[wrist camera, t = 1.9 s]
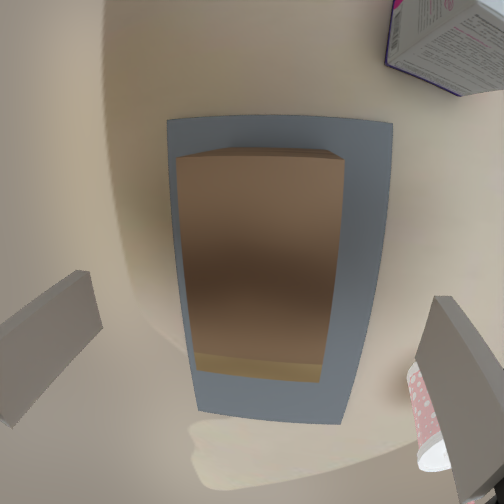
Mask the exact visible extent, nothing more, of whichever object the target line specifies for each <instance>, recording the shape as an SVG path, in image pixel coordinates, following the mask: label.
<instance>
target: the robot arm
mask: <svg viewBox="0 0 504 504" xmlns="http://www.w3.org/2000/svg"><path fill="white" fill-rule="evenodd" d="M102 329H103V326H102V322H101V319H100V315H99V311H98V307H97V303H96V299H95V295H94V290H93V286H92V281H91V277H90V272H89V271H81V270H76V271H74V272H73V273H71V274H70V275H68V276H67V277H65V278H64V279H62V280H61V281H59V282H58V283H57V284H55V285H54V286H52V287H51V288H49V289H48V290H47V291H45V292H44V293H42V294H41V295H40V296H38V297H37V298H36V299H34V300H33V301H32V302H30V303H29V304H27V305H26V306H25V307H23V308H22V309H21V310H19V311H18V312H17V313H15V314H14V315H13V316H11V317H10V318H9V319H7V320H6V321H5V322H3V323H2V324H1V325H0V421H1V422H2V423H4V424H5V425H7V426H8V427H10V428H11V429H13V427H14V426H15V425H16V423H18V421H19V420H20V419H21V418H22V416H23V415H24V414H25V413H26V412H27V411H28V410H29V409H30V407H31V406H32V405H33V404H34V403H35V401H36V400H37V399H38V398H39V397H40V396H41V395H42V394H43V392H44V391H45V390H46V389H47V388H48V387H49V386H50V385H51V383H52V382H53V381H54V380H55V379H56V378H57V377H58V376H59V375H60V374H61V372H62V371H63V370H64V369H65V368H66V367H67V366H68V365H69V363H71V361H72V360H73V359H74V358H75V357H76V356H77V355H78V354H79V353H80V352H81V351H82V350H83V349H84V348H85V347H86V345H87V344H88V343H89V342H90V341H91V340H92V339H93V338H94V337H95V336H96V335H97V334H98V333H99V332H100V331H101V330H102ZM415 359H416V362H417V364H418V367H419V369H420V372H421V375H422V377H423V380H424V383H425V385H426V388H427V391H428V394H429V396H430V399H431V402H432V405H433V408H434V411H435V414H436V417H437V420H438V423H439V426H440V430H441V433H442V436H443V439H444V443H445V446H446V450H447V453H448V457H449V461H450V464H451V468H452V472H453V476H454V480H455V484H456V488H457V493H458V498H459V502H460V504H464V503H468V502H471V501H474V500H477V499H480V498H482V497H484V496H485V495H486V494H487V493H488V492H489V491H490V490H491V489H492V488H494V489H495V493H496V495H495V496H493V497H492V498H491V499H490V500H489V501H488V502H486V503H485V504H504V369H503V368H502V367H501V365H500V363H499V362H498V360H497V359H496V357H495V356H494V354H493V353H492V351H491V350H490V348H489V347H488V345H487V344H486V342H485V341H484V339H483V338H482V337H481V335H480V334H479V332H478V331H477V329H476V328H475V327H474V325H473V324H472V323H471V321H470V320H469V318H468V317H467V316H466V314H465V313H464V312H463V310H462V309H461V308H460V306H459V305H458V304H457V303H456V301H455V300H454V299H453V297H452V296H434V298H433V302H432V305H431V309H430V312H429V316H428V319H427V322H426V326H425V329H424V332H423V335H422V338H421V341H420V344H419V347H418V350H417V353H416V356H415Z"/></svg>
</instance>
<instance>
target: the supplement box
mask: <svg viewBox="0 0 504 504" xmlns="http://www.w3.org/2000/svg"><path fill="white" fill-rule="evenodd" d="M385 65H386V66H389V67H391V68H393V69H396V70H399V71H401V72H404V73H407V74H410V75H412V76H415V77H417V78H420V79H422V80H424V81H426V82H429V83H431V84H433V85H435V86H437V87H440V88H442V89H444V90H446V91H448V92H450V93H452V94H454V95H456V96H460V97H461V96H465V95H471V94H477V93H483V92H489V91H496V90H503V89H504V0H394V1H393V7H392V15H391V22H390V29H389V36H388V44H387V51H386V58H385Z"/></svg>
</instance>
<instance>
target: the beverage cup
mask: <svg viewBox="0 0 504 504" xmlns="http://www.w3.org/2000/svg"><path fill="white" fill-rule="evenodd" d="M407 383H408V388H409V392H410V398H411V403H412V408H413V414H414V419H415V425H416V432H417V438H418V445H419V451H418V453H417V458H418V460H417V462H418V466H419V469H420V470H423V471H426V472H438V471H442V470H446V469H450V468H451V464H450V461H449V457H448V453H447V450H446V446H445V443H444V439H443V436H442V433H441V430H440V426H439V423H438V420H437V417H436V414H435V411H434V408H433V405H432V402H431V399H430V396H429V394H428V391H427V388H426V385H425V383H424V380H423V377H422V375H421V372H420V369H419V367H418V364H417V362H414V363H413V365H412V366H411V368H410V369H409V370H408V374H407ZM467 504H475V503H474V501H471V502H468V503H467Z"/></svg>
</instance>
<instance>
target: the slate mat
mask: <svg viewBox="0 0 504 504" xmlns="http://www.w3.org/2000/svg"><path fill="white" fill-rule="evenodd" d="M392 138H393V123H386V122H378V121H369V120H359V119H348V118H336V117H320V116H298V115H234V116H211V117H196V118H183V119H172V120H167V141H168V166H169V185H170V201H171V215H172V227H173V238H174V249H175V259H176V268H177V277H178V286H179V294H180V302H181V310H182V317H183V324H184V331H185V338H186V344H187V350H188V357H189V363H190V369H191V374H192V380H193V386H194V391H195V396H196V401H197V406H198V411H203V412H209V413H215V414H221V415H227V416H234V417H241V418H249V419H258V420H267V421H278V422H290V423H306V424H337V425H340V424H341V421H342V418H343V415H344V412H345V409H346V406H347V403H348V399H349V396H350V393H351V390H352V386H353V383H354V379H355V376H356V372H357V368H358V365H359V361H360V357H361V353H362V349H363V345H364V341H365V337H366V333H367V328H368V324H369V319H370V315H371V310H372V305H373V300H374V295H375V290H376V285H377V279H378V273H379V267H380V261H381V255H382V248H383V241H384V234H385V226H386V218H387V209H388V199H389V188H390V175H391V160H392ZM230 147H268V148H303V149H322V150H329V151H331V152H332V153H334V154H336V155H338V156H339V157H341V158H343V159H344V160H345V168H344V188H343V203H342V217H341V229H340V240H339V250H338V260H337V269H336V277H335V286H334V293H333V301H332V308H331V315H330V322H329V329H328V335H327V341H326V347H325V353H324V359H323V365H322V370H321V375H320V381H319V383H312V382H295V381H282V380H270V379H260V378H250V377H242V376H233V375H226V374H219V373H212V372H205V371H199V370H196V363H195V357H194V350H193V343H192V336H191V328H190V321H189V313H188V304H187V296H186V287H185V278H184V268H183V258H182V247H181V235H180V222H179V208H178V192H177V173H176V157H181V156H186V155H190V154H195V153H200V152H206V151H211V150H216V149H222V148H230Z"/></svg>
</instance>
